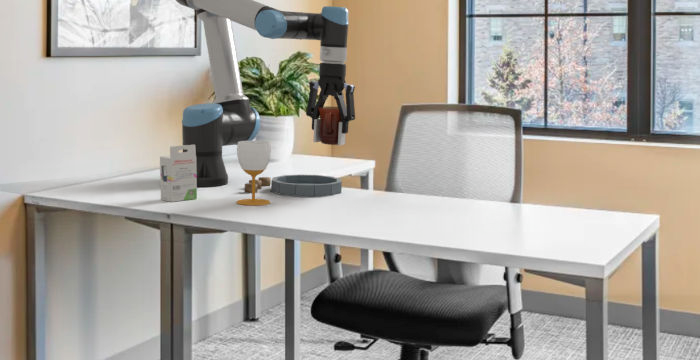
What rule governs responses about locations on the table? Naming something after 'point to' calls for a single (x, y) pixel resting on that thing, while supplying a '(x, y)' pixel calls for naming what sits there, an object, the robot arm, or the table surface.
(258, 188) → the bead
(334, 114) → the mug
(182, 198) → the ink box
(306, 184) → the tray
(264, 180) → the bead
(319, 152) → the table surface
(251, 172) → the cup
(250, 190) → the bead
